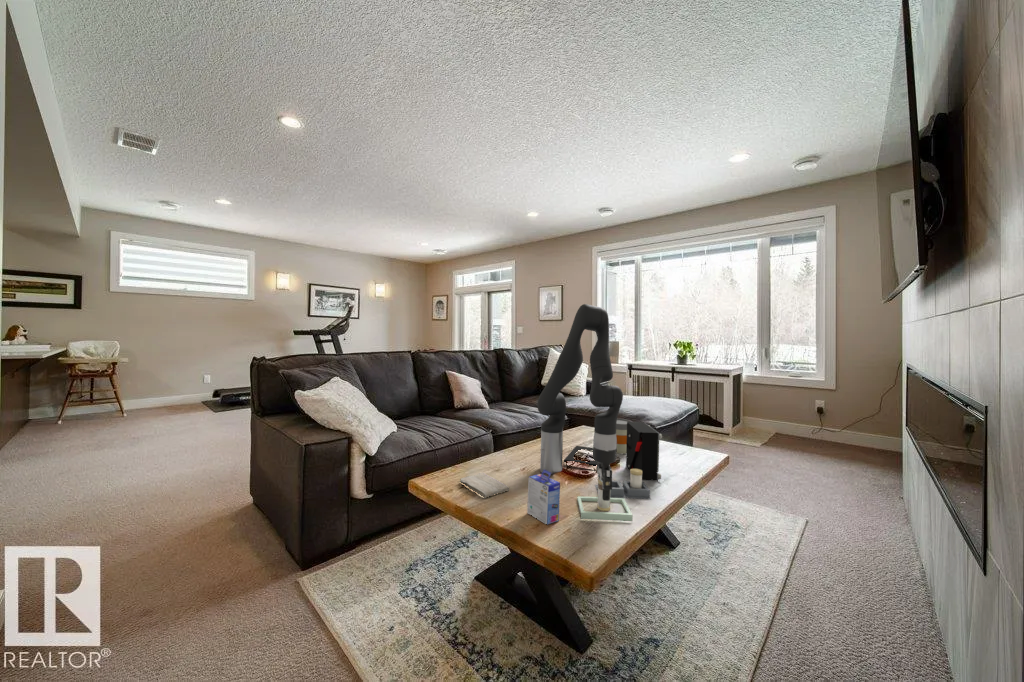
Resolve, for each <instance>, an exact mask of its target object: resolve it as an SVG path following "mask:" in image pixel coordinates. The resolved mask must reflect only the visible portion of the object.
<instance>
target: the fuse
mask: <svg viewBox="0 0 1024 682" xmlns="http://www.w3.org/2000/svg"><path fill="white" fill-rule="evenodd" d="M597 485H598V492H597V497H598V501H597V505H596V507H597V509H598V510H599V511H600V512H609V511H610V510H611V502H610V500H609V501H605V500H603V498H602V496H603V488H602V482H601V481H600V477H599V478H598V477H597ZM606 485H608V482H606Z"/></svg>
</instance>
